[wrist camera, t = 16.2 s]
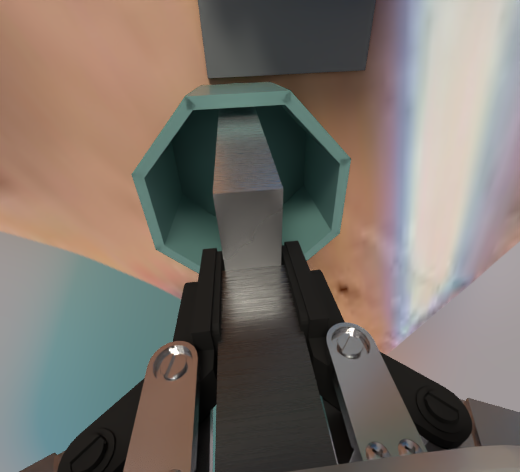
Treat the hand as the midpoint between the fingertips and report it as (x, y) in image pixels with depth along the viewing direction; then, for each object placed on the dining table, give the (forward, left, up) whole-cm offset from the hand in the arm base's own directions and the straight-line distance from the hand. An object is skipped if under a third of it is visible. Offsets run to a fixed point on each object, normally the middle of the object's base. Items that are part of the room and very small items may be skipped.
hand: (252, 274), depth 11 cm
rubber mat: (-4, -11, -15) cm, 19 cm away
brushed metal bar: (0, -1, -9) cm, 9 cm away
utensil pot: (0, 0, -15) cm, 15 cm away
